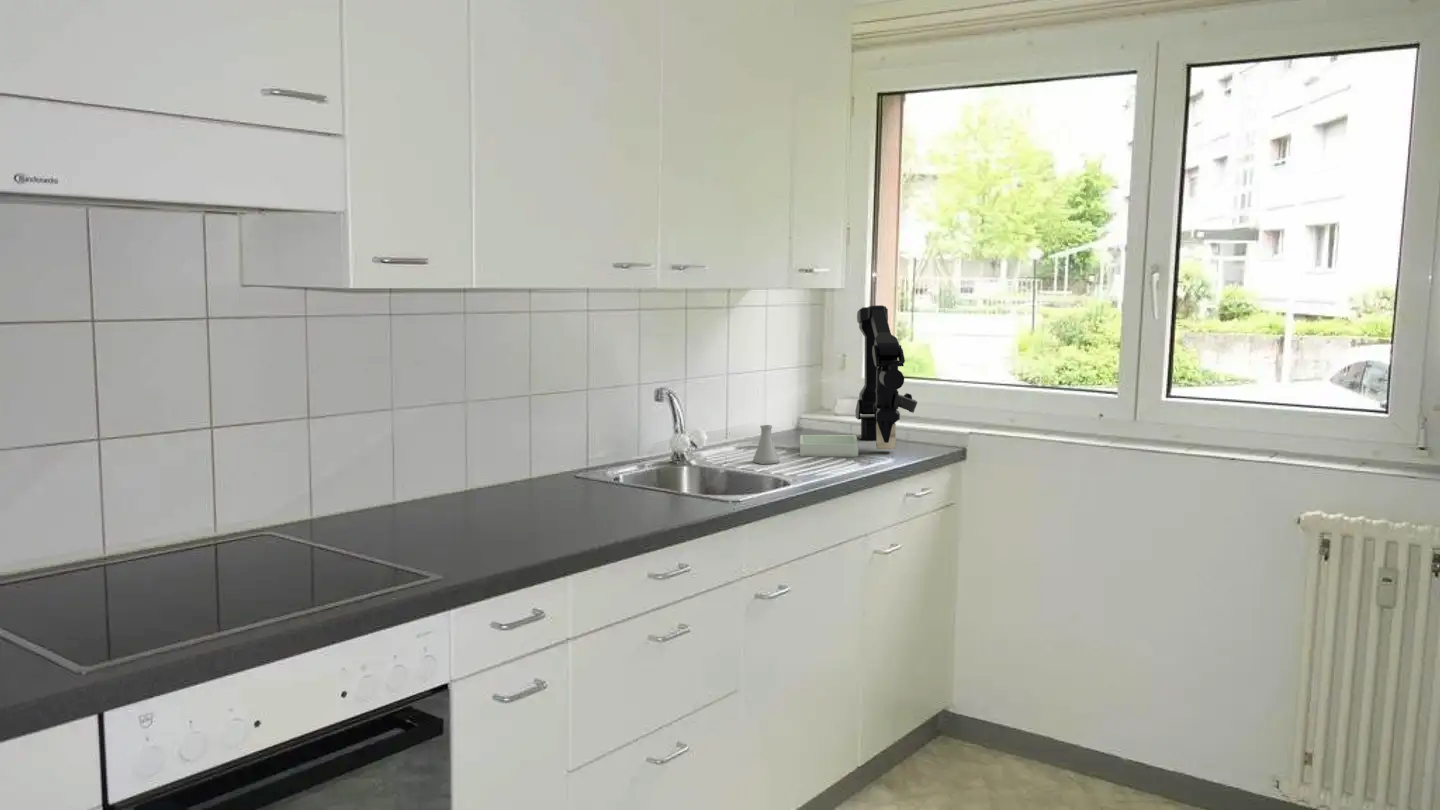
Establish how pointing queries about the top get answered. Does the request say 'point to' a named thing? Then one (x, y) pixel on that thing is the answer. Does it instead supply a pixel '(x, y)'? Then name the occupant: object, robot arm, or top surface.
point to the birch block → (880, 442)
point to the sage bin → (828, 446)
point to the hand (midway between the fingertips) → (885, 441)
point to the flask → (766, 448)
